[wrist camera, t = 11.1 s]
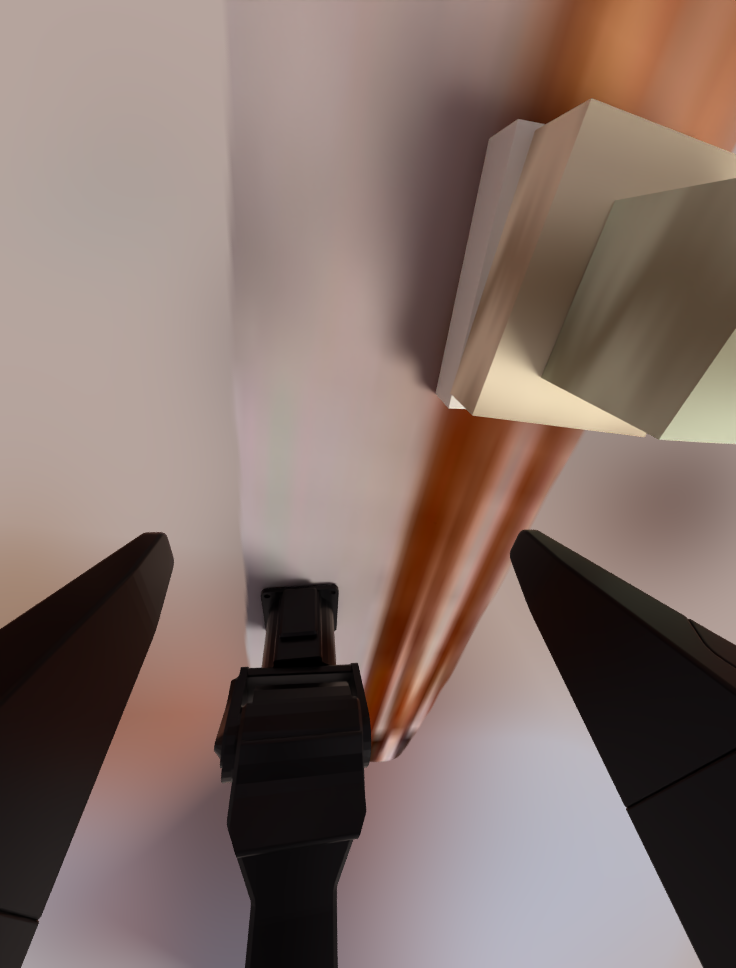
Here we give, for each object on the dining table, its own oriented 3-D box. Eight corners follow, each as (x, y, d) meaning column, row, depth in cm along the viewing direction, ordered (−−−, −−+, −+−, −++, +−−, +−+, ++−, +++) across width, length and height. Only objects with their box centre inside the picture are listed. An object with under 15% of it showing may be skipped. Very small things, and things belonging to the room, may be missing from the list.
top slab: (603, 414, 20) (644, 437, 17) (450, 393, 17) (472, 415, 15) (733, 199, 14) (821, 187, 12) (535, 130, 12) (591, 98, 10)
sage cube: (651, 388, 16) (807, 448, 11) (540, 377, 14) (659, 439, 10) (748, 230, 12) (1040, 213, 7) (614, 200, 11) (855, 155, 6)
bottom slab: (586, 397, 22) (619, 414, 20) (432, 390, 20) (448, 408, 18) (689, 180, 16) (757, 166, 14) (483, 142, 14) (518, 118, 12)
